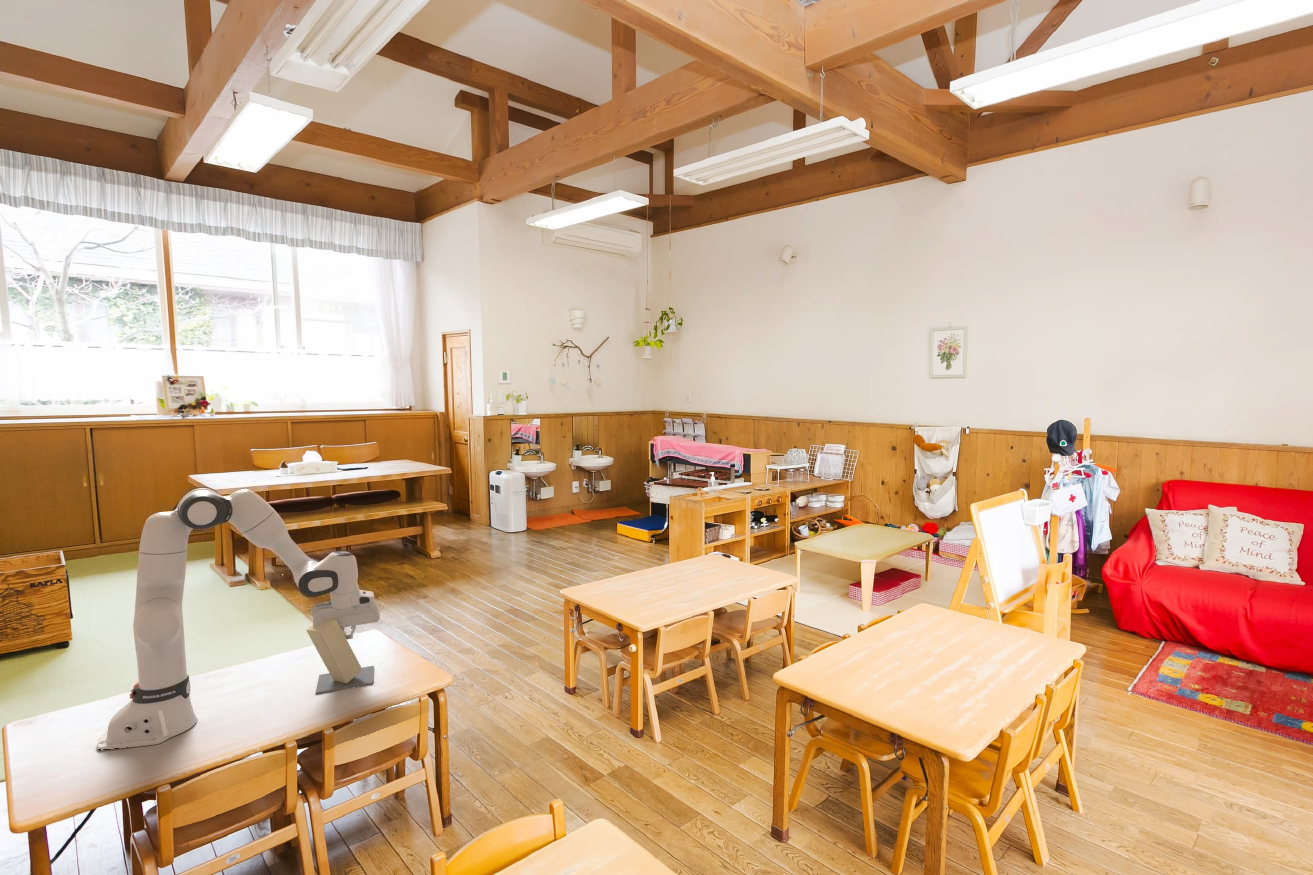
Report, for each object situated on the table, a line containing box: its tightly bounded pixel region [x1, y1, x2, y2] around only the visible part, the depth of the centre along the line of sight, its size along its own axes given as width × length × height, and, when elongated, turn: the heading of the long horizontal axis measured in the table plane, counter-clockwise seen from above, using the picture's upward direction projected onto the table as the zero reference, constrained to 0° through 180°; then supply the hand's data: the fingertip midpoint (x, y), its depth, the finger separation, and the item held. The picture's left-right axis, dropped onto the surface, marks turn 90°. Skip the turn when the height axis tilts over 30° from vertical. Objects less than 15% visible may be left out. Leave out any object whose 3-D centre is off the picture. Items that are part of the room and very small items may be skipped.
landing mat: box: [314, 665, 375, 695], centre depth 215 cm, size 17×14×1 cm
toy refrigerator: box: [306, 619, 363, 683], centre depth 211 cm, size 8×7×21 cm
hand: (348, 638), depth 213 cm, fingers closed
